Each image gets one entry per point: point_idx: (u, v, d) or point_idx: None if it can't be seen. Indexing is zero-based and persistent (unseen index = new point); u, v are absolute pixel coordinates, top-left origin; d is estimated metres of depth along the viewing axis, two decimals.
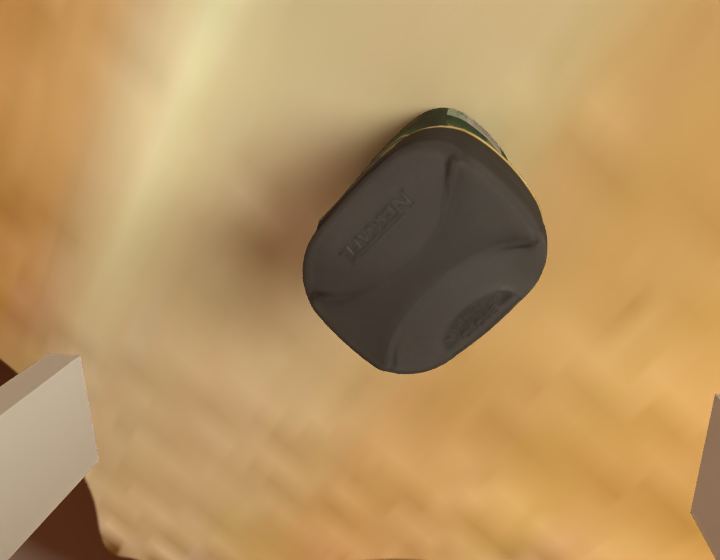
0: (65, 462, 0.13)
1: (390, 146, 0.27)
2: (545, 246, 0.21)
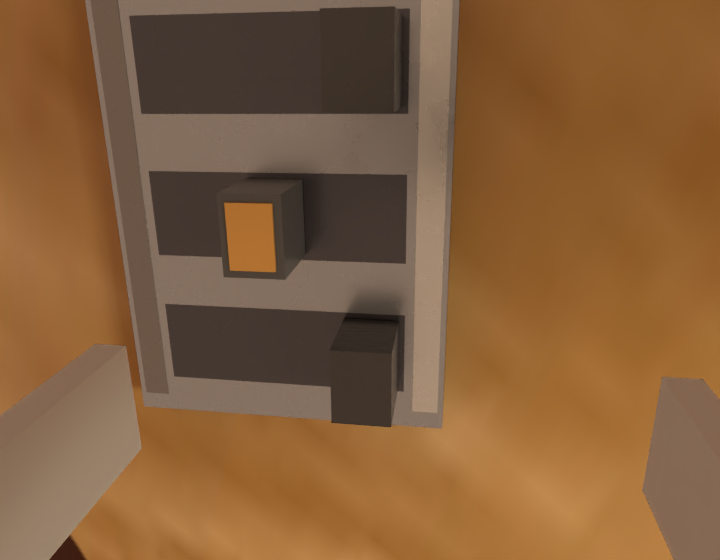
0: (113, 449, 0.13)
1: None
2: None
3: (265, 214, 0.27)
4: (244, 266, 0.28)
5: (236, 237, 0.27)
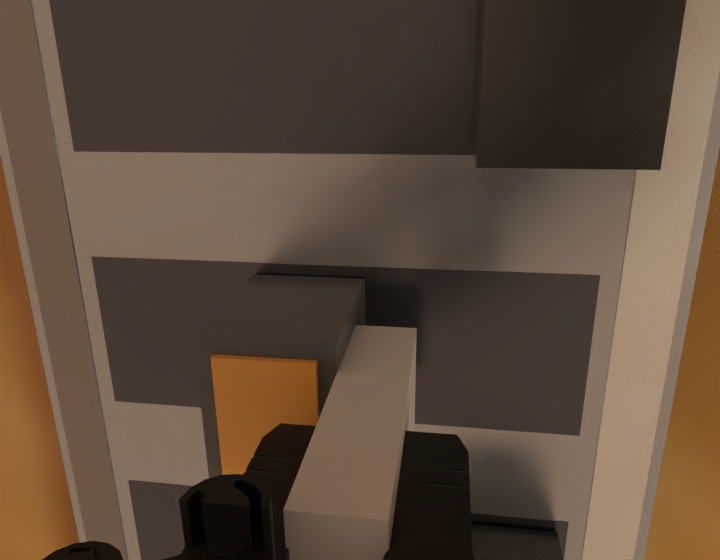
0: None
1: None
2: None
3: (301, 383, 0.12)
4: None
5: (238, 426, 0.13)
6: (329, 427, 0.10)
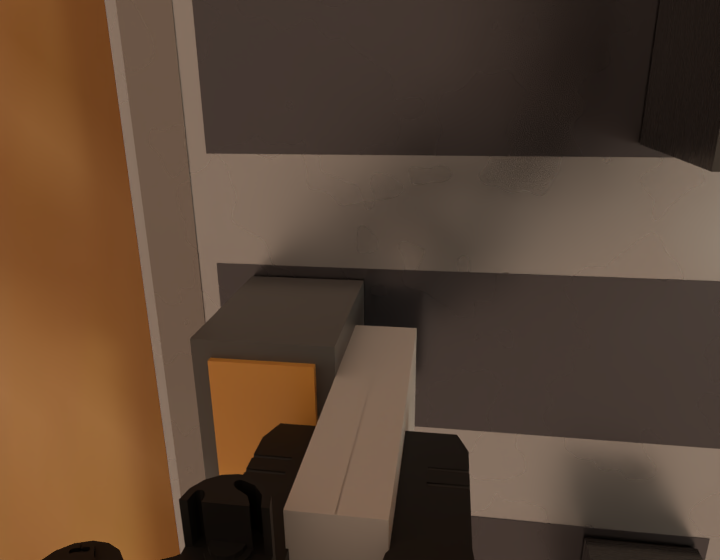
0: None
1: None
2: None
3: (299, 386, 0.12)
4: None
5: (235, 430, 0.13)
6: (328, 427, 0.10)
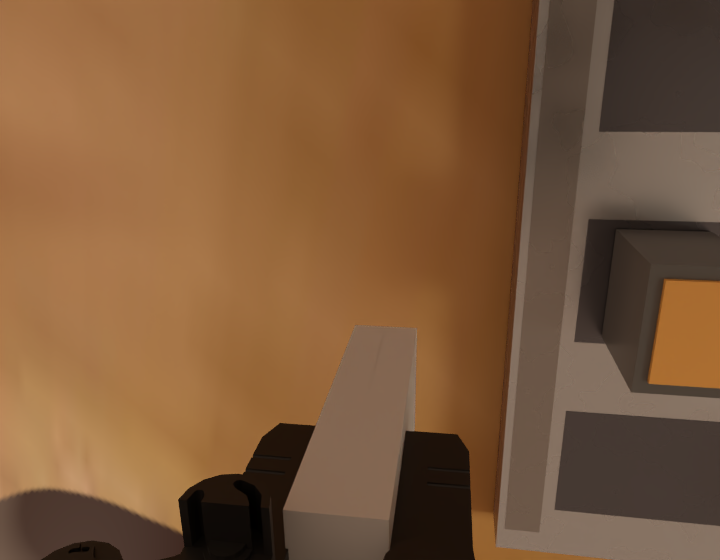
0: None
1: None
2: None
3: None
4: (675, 378, 0.17)
5: (674, 334, 0.17)
6: (328, 427, 0.10)
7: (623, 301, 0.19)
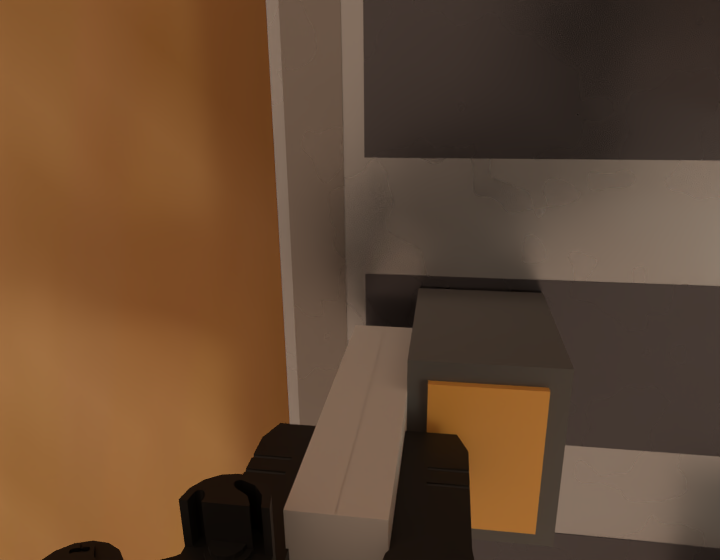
0: None
1: None
2: None
3: (530, 412, 0.11)
4: None
5: None
6: (329, 427, 0.10)
7: None
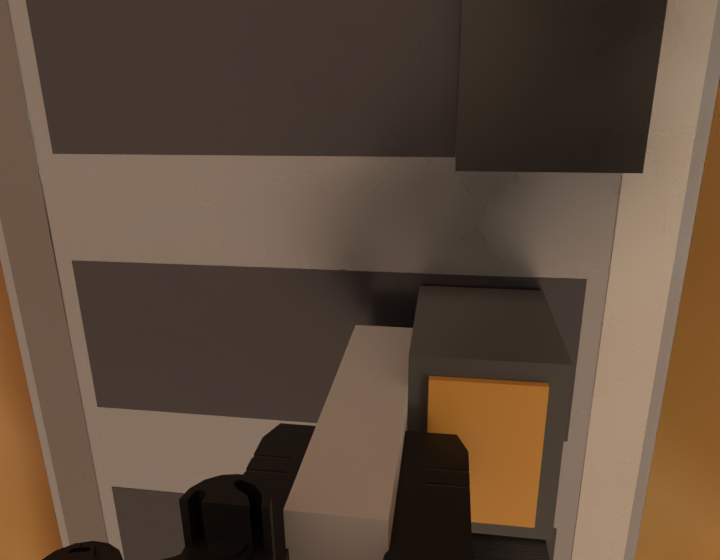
0: None
1: None
2: None
3: (530, 407, 0.11)
4: None
5: None
6: (329, 427, 0.10)
7: None
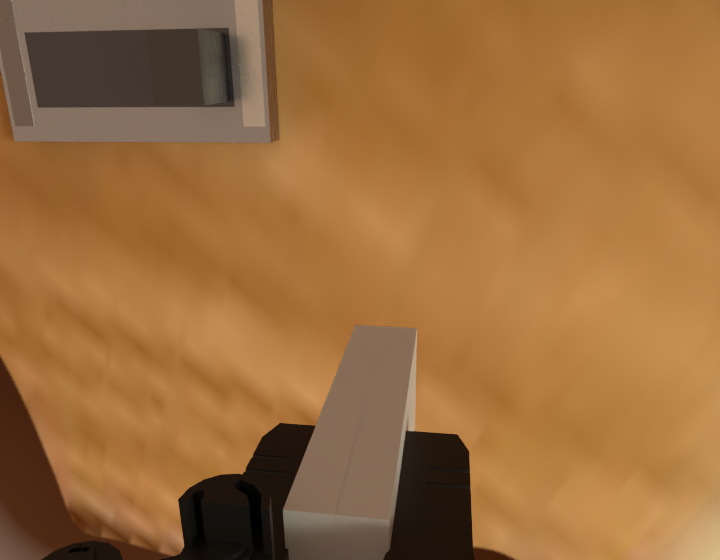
0: None
1: None
2: None
3: None
4: None
5: None
6: (328, 427, 0.10)
7: None
